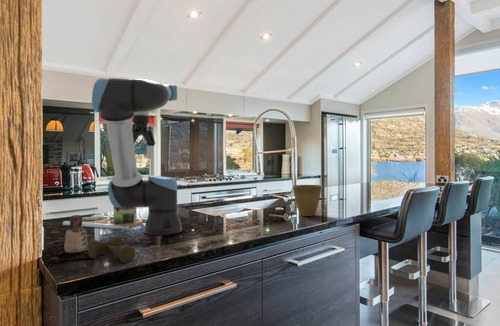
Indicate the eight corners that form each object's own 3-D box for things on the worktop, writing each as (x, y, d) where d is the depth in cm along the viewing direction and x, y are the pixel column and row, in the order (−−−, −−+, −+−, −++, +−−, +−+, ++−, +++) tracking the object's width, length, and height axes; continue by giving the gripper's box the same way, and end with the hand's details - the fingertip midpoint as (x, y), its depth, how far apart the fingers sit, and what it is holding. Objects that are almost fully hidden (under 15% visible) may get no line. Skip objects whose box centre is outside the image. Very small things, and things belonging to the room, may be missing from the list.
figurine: (89, 246, 121) (88, 212, 121) (86, 251, 114) (86, 215, 114) (66, 248, 119) (66, 213, 119) (62, 253, 112) (62, 217, 112)
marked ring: (148, 222, 166) (148, 219, 166) (127, 228, 151) (127, 225, 151) (122, 220, 170) (122, 217, 170) (100, 226, 156) (100, 223, 156)
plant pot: (321, 213, 188) (321, 184, 188) (321, 218, 173) (320, 186, 173) (294, 212, 191) (294, 184, 191) (291, 217, 177) (291, 186, 176)
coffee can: (126, 227, 154) (126, 196, 154) (108, 225, 158) (108, 195, 158) (141, 223, 164) (141, 193, 164) (124, 221, 168) (124, 193, 168)
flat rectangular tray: (152, 221, 167) (152, 218, 167) (126, 229, 149) (126, 226, 149) (93, 218, 179) (93, 215, 179) (62, 224, 161) (62, 221, 161)
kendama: (113, 268, 98) (81, 254, 111) (142, 261, 106) (109, 249, 119) (113, 248, 98) (81, 236, 111) (143, 242, 106) (110, 231, 119)
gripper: (149, 118, 182) (149, 158, 182) (116, 112, 158) (117, 158, 159) (161, 117, 179) (162, 158, 180) (130, 111, 156) (131, 158, 156)
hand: (141, 158), depth 169 cm, fingers open, 13 cm apart
